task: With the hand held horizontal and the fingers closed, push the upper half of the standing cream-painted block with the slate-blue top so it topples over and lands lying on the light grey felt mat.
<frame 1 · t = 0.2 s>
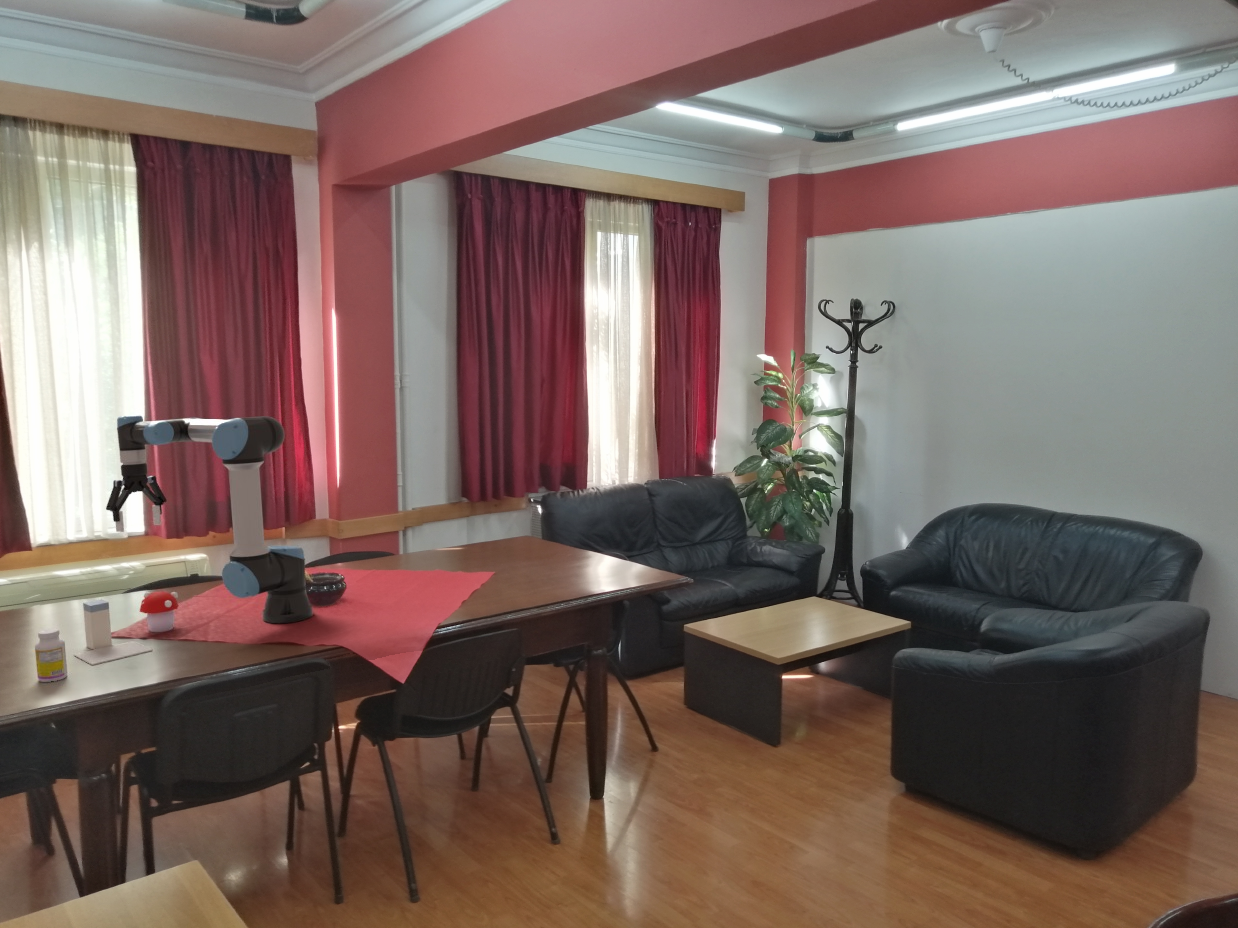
hand: (139, 528, 302), 28 cm above the table, tool pointing down, fingers open, 13 cm apart
felt mat: (113, 653, 262), on the table
supplement bottle: (52, 679, 242), on the table
cream block: (99, 646, 269), on the table
mushroom: (161, 629, 285), on the table
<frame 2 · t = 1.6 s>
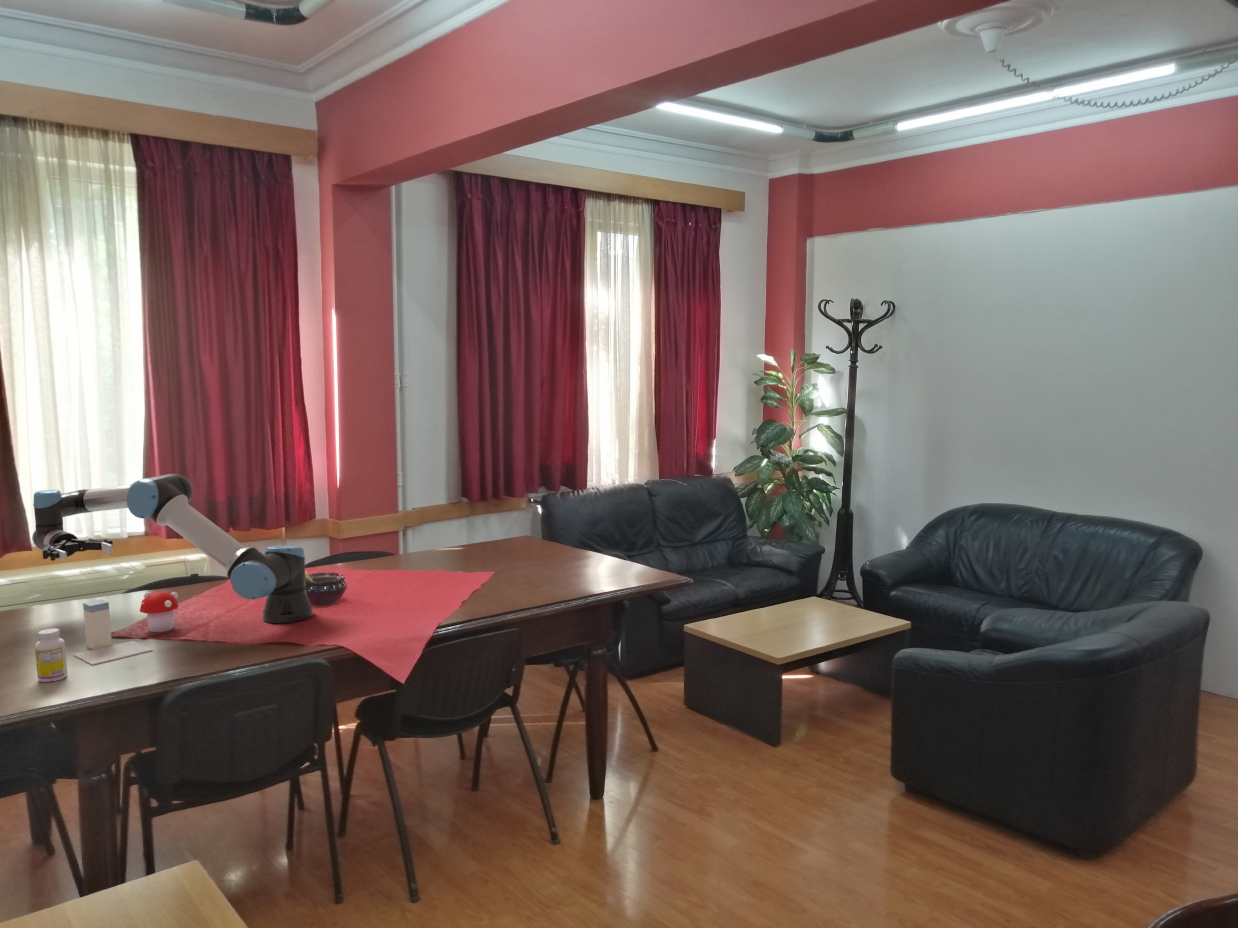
hand: (88, 553, 276), 25 cm above the table, tool horizontal, fingers open, 12 cm apart
nothing on the table moved.
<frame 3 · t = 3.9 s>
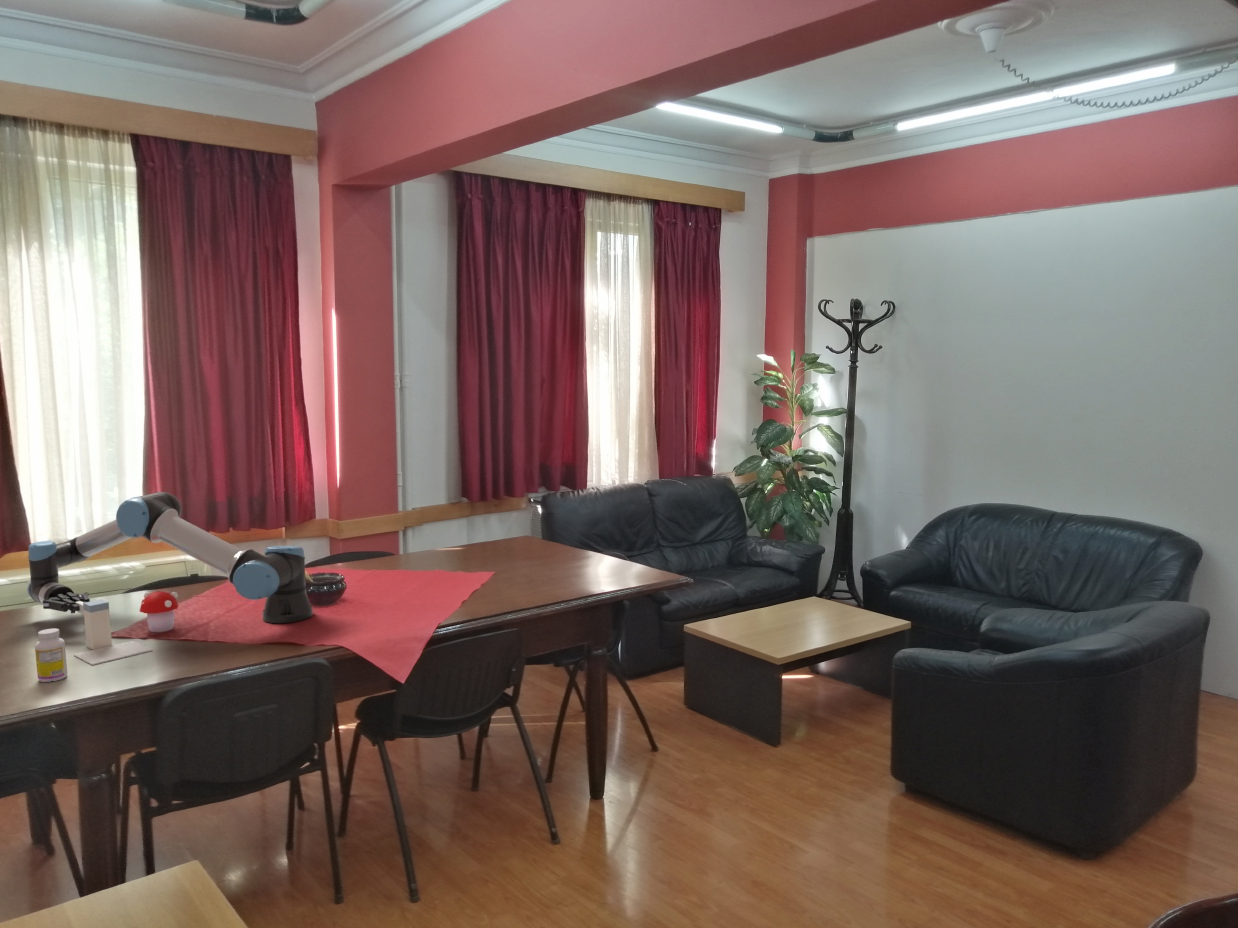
hand: (86, 609, 272), 10 cm above the table, tool horizontal, fingers closed
nothing on the table moved.
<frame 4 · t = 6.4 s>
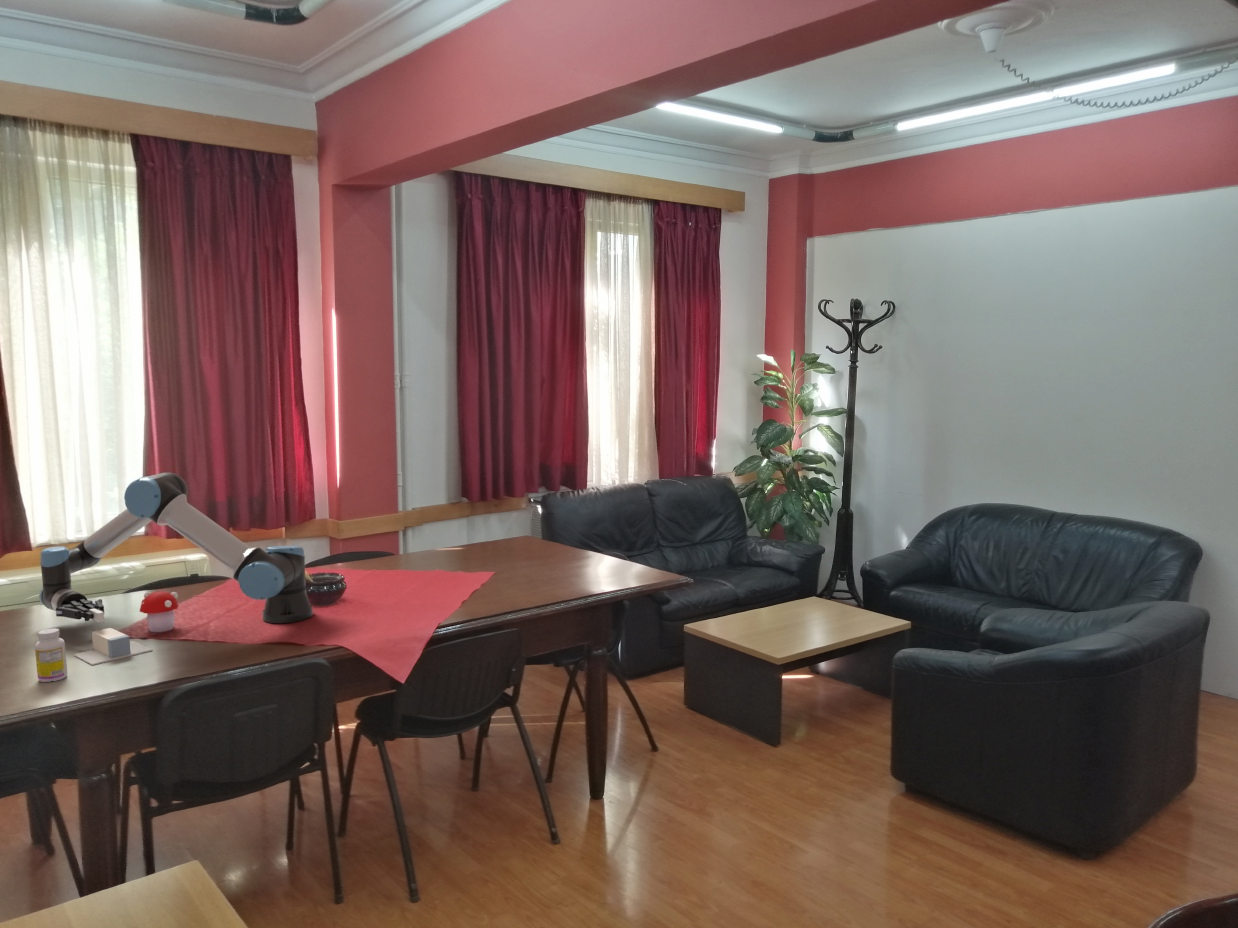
hand: (101, 617, 265), 9 cm above the table, tool horizontal, fingers closed
cream block: (101, 638, 267), point 3 cm above the table, tilted 90°, touching felt mat
everything else where it was.
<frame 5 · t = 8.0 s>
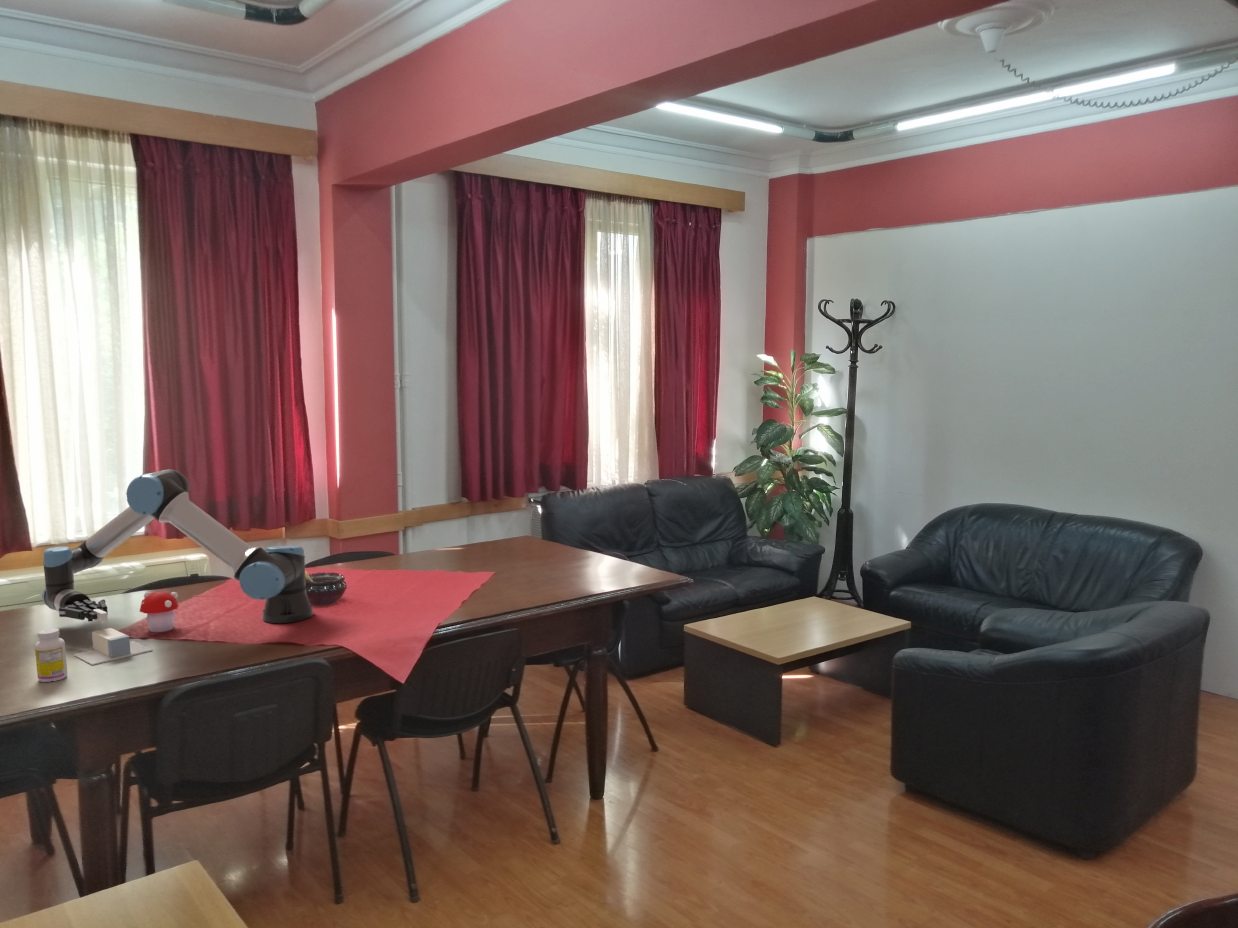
hand: (104, 617, 264), 10 cm above the table, tool horizontal, fingers closed
nothing on the table moved.
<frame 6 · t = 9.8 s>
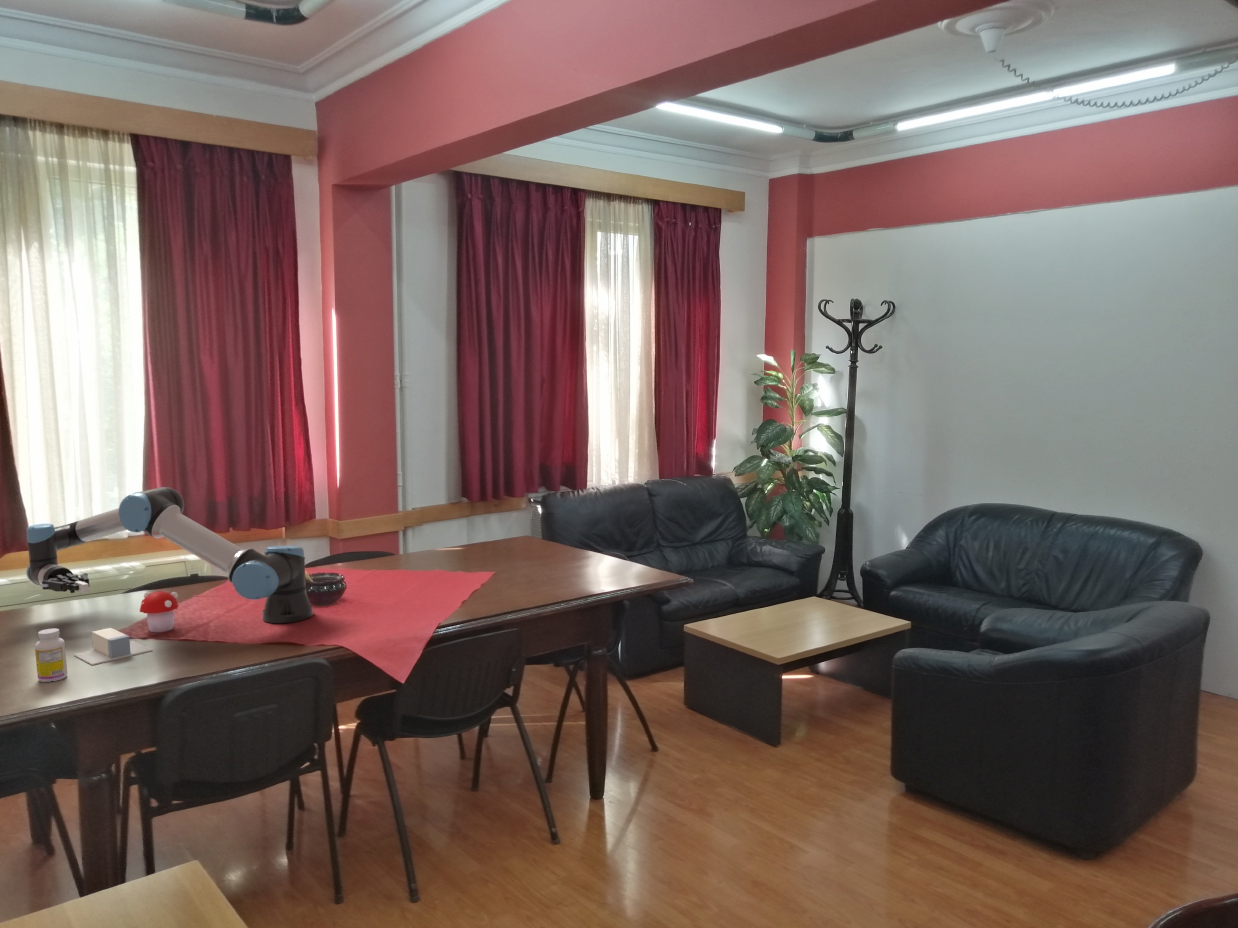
hand: (86, 588, 273), 16 cm above the table, tool horizontal, fingers closed
nothing on the table moved.
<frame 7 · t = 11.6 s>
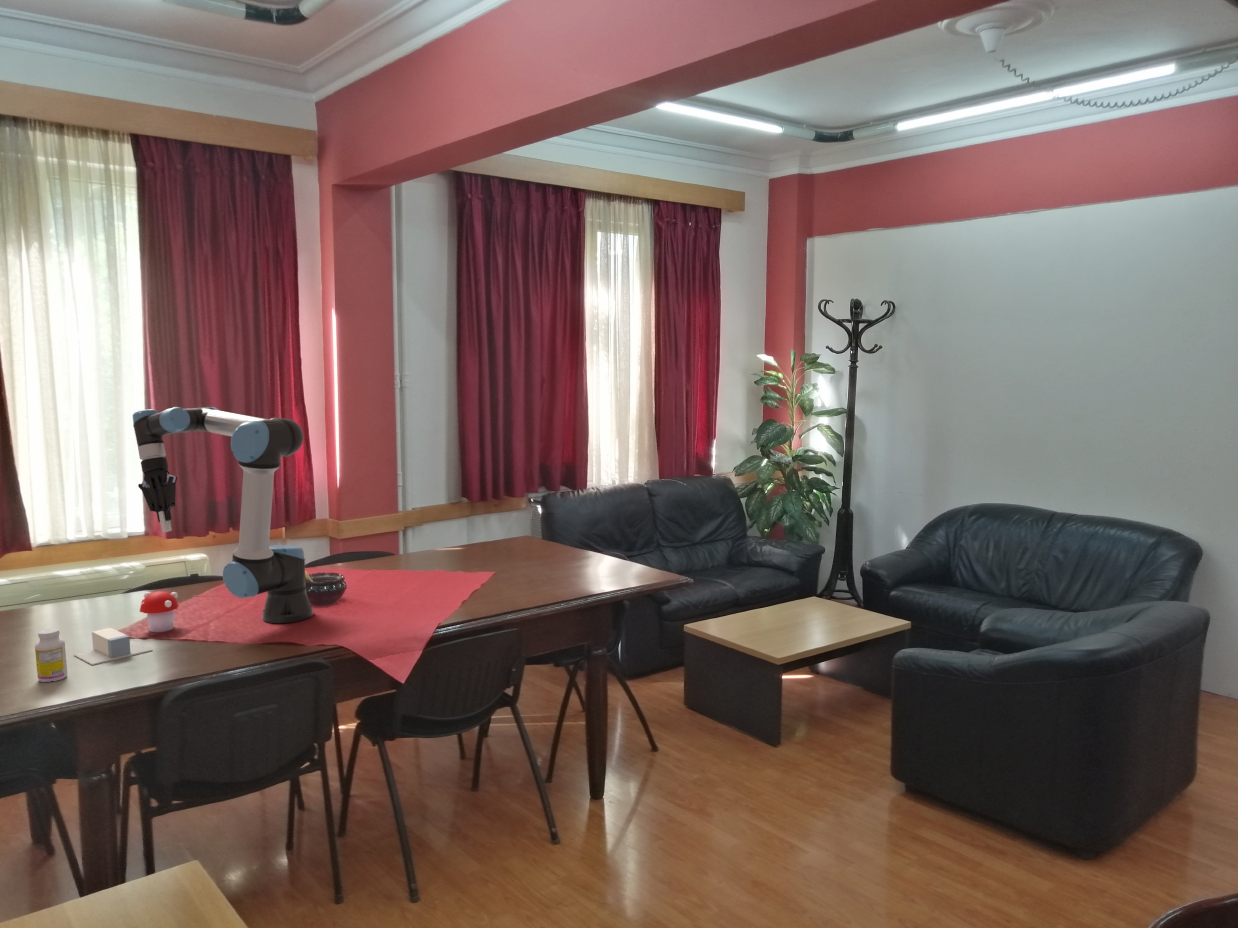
hand: (167, 531, 294), 28 cm above the table, tool tilted 15°, fingers closed
nothing on the table moved.
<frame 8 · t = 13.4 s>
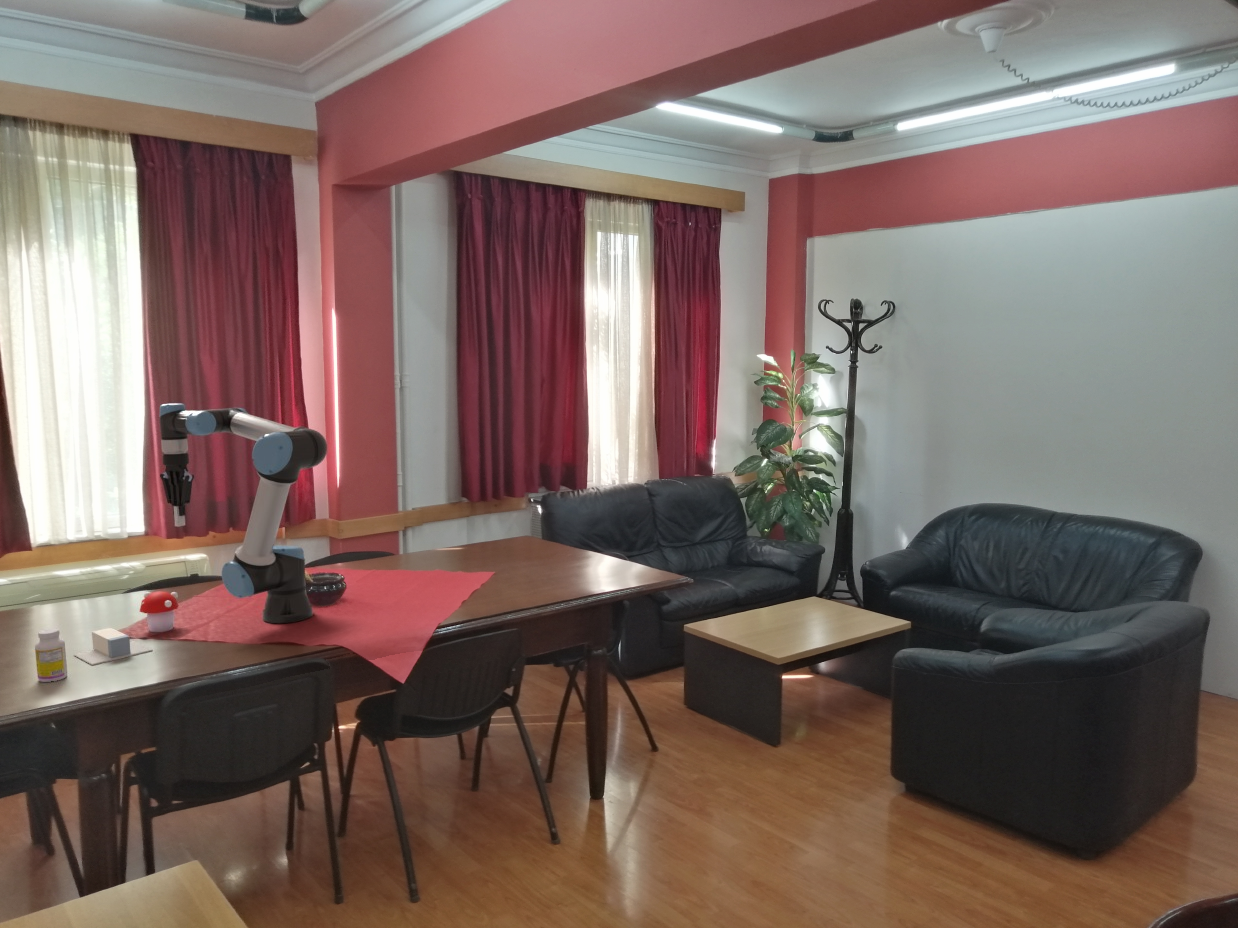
hand: (180, 525, 296), 29 cm above the table, tool pointing down, fingers closed
nothing on the table moved.
at the end: cream block tilted 90°; cream block inside the target area (1.7 cm from its centre), point 2.9 cm above the table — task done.
